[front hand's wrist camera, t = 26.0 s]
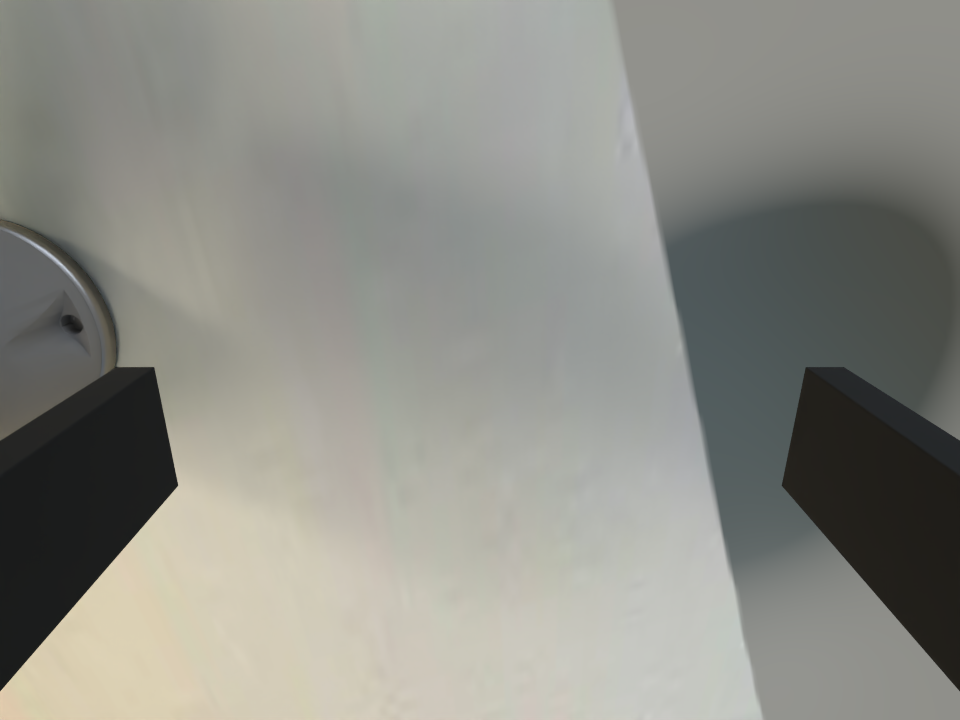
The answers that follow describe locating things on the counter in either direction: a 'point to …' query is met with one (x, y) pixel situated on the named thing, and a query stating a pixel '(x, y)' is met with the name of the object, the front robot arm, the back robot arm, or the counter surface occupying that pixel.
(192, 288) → the counter surface
